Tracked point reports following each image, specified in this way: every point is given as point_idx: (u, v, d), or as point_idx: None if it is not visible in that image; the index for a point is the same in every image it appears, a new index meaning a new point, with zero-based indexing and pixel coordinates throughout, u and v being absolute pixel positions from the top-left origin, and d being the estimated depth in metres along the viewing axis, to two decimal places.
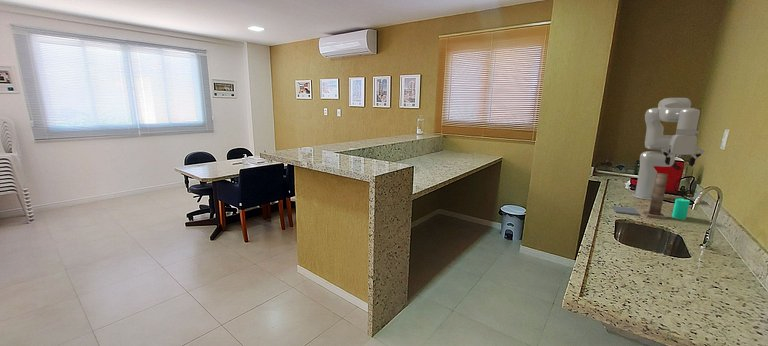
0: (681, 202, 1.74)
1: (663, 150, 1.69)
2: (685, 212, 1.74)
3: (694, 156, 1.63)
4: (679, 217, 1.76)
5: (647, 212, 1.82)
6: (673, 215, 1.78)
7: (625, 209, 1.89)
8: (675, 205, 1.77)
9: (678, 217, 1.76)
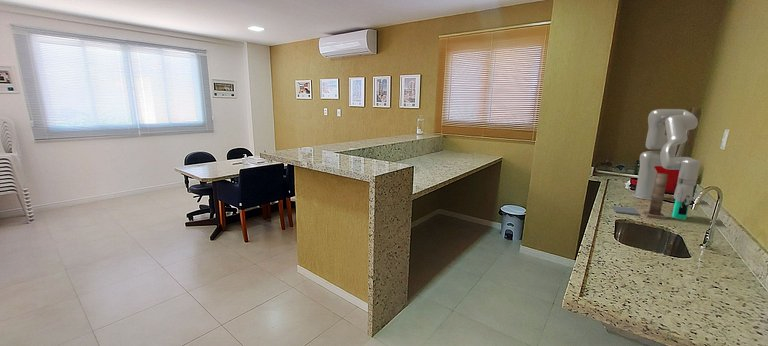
0: None
1: None
2: None
3: None
4: (679, 217, 1.76)
5: (647, 212, 1.82)
6: (673, 215, 1.78)
7: (625, 209, 1.89)
8: (675, 205, 1.77)
9: (678, 217, 1.76)
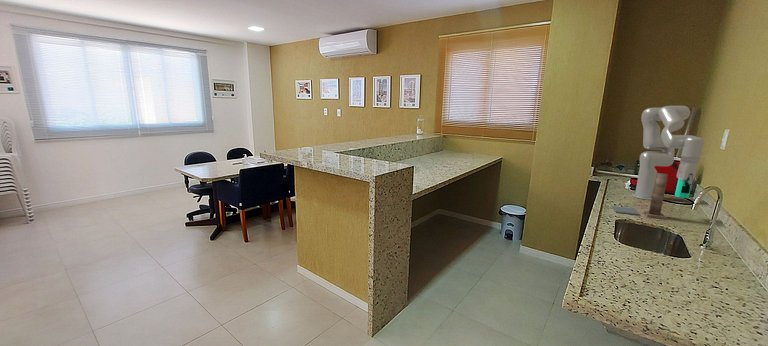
0: None
1: None
2: None
3: None
4: (682, 196, 1.74)
5: (647, 212, 1.82)
6: (676, 194, 1.77)
7: (625, 209, 1.89)
8: (678, 184, 1.75)
9: (681, 196, 1.75)
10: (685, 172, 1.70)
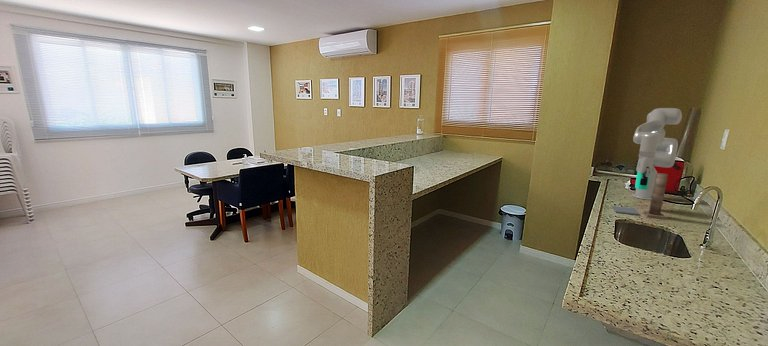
0: None
1: None
2: None
3: None
4: (641, 187, 1.89)
5: (647, 212, 1.82)
6: (636, 186, 1.92)
7: (625, 209, 1.89)
8: (637, 177, 1.91)
9: (640, 188, 1.90)
10: (643, 165, 1.85)
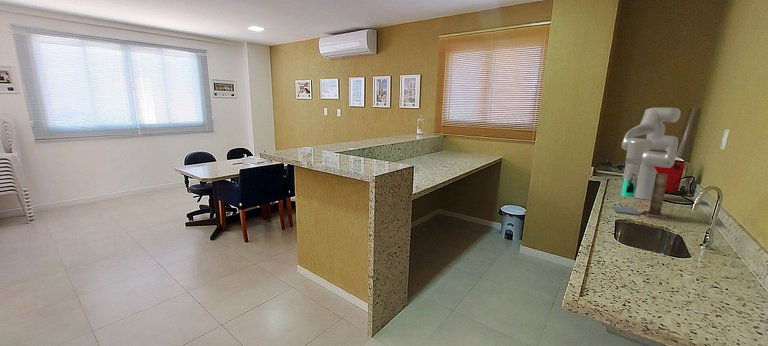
0: None
1: None
2: None
3: None
4: (627, 195, 1.84)
5: (647, 212, 1.82)
6: (622, 193, 1.87)
7: (625, 209, 1.89)
8: (624, 184, 1.85)
9: (626, 195, 1.84)
10: (629, 173, 1.80)
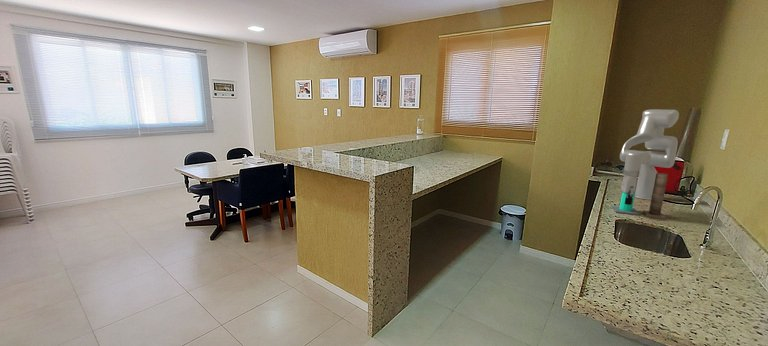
0: None
1: None
2: None
3: None
4: (625, 209, 1.86)
5: (647, 212, 1.82)
6: (620, 207, 1.89)
7: None
8: (622, 198, 1.87)
9: (624, 209, 1.86)
10: (626, 185, 1.82)
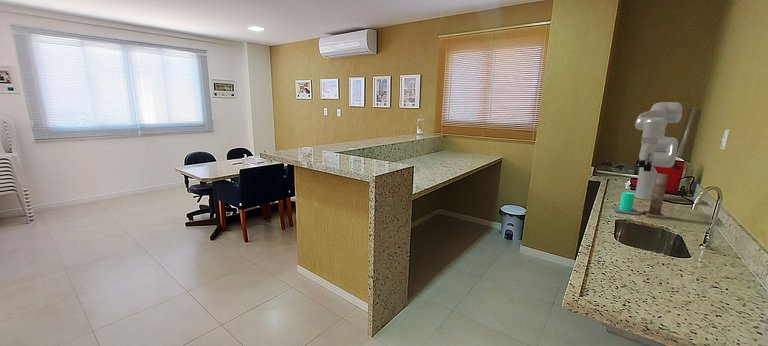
0: (626, 195, 1.84)
1: None
2: (630, 204, 1.85)
3: None
4: (625, 209, 1.86)
5: (647, 212, 1.82)
6: (620, 207, 1.89)
7: None
8: (621, 198, 1.87)
9: (624, 209, 1.86)
10: (645, 152, 1.80)
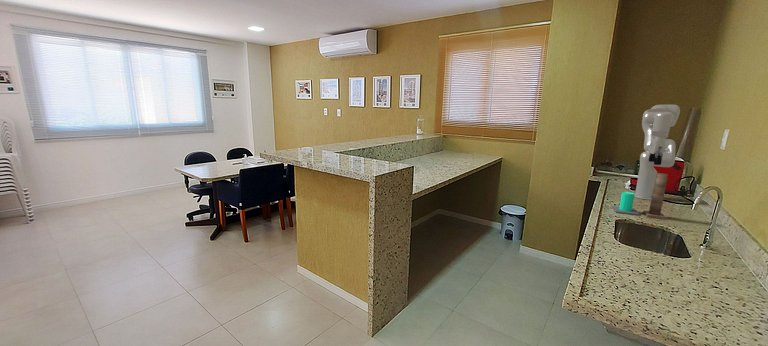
0: (626, 195, 1.84)
1: None
2: (630, 204, 1.85)
3: None
4: (625, 209, 1.86)
5: (647, 212, 1.82)
6: (620, 207, 1.89)
7: None
8: (621, 198, 1.87)
9: (624, 209, 1.86)
10: (655, 145, 1.82)
